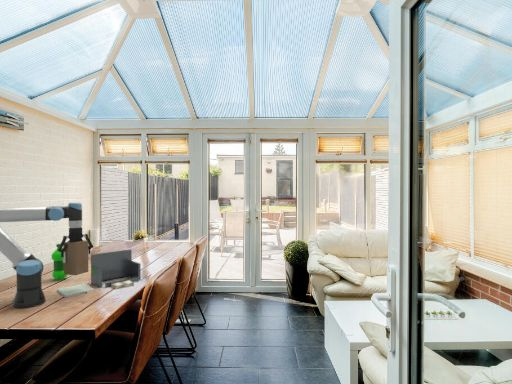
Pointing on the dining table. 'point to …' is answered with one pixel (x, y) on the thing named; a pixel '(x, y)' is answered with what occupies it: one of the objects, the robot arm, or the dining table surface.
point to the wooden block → (76, 258)
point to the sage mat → (75, 290)
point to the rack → (114, 267)
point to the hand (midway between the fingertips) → (76, 260)
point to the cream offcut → (122, 284)
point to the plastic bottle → (58, 265)
